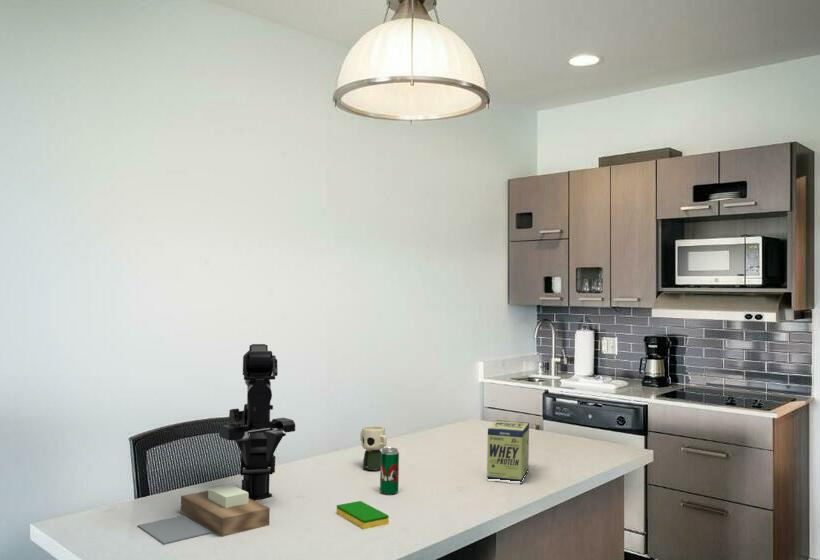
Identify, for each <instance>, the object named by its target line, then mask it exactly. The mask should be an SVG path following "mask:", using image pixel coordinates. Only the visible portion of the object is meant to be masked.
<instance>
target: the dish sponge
mask: <svg viewBox="0 0 820 560" xmlns="http://www.w3.org/2000/svg"><path fill="white" fill-rule="evenodd" d="M335 512H336V513H335V514H336V515H338V516H340V517H342V518H344V519H346V520H347V521H349V522H351V523H352V524H354V525H356V526H357V527H359V528H361V529H363V530H367V529H371V528H376V527H380V526H386V525H389V523H390V522H389V521H390V519H389V514H387V513H385V512H383V511H381V510H379V509H377V508H375V507H373V506H372V505H370V504H367V503H366V502H364V501H362V500H359V501H353V502H347V503H341V504H336V511H335Z"/></svg>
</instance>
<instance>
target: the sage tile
mask: <svg viewBox="0 0 820 560" xmlns="http://www.w3.org/2000/svg"><path fill="white" fill-rule="evenodd" d="M207 491H208V499H209V500H211V501H213V502H215V503H217V504H219V505H221V506H223V507H225V508H228V507H232V506H237V505H242V504H246V503H248V497H249V493H248V492H246V491H244V490H242V488H239V487H237V486H235V485H234V484H226V485H221V486H214V487H211V488H208V489H207Z"/></svg>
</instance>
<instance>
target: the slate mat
mask: <svg viewBox="0 0 820 560" xmlns="http://www.w3.org/2000/svg"><path fill="white" fill-rule="evenodd" d="M137 528H140V529H141V530H143V531H144V532H145V533H147V534H148V535H149V536H151V537H152V538H154V539H155V540H156V541H158V542H160V543H161V544H163V545H167V544H168V545H169V544H173V543H176V542H180V541H185V540H188V539H193V538H197V537H201V536H205V535H209V534H212V530H211V531H210V529H208V528H207V527H206V528H205V526H203V525H202V524H201V525H200V523H198V522H196V521H195V520H193V519H191V518H190V517H188V516H186V515H185V514H182V515H179V516H174V517H173V516H172V517H169V518H163V519H159V520H155V521H151V522H146V523H141V524H137Z"/></svg>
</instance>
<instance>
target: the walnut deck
mask: <svg viewBox="0 0 820 560" xmlns="http://www.w3.org/2000/svg"><path fill="white" fill-rule="evenodd" d="M270 509H271V508H270V506H266V505H264V504H262V503H260V502H258V501H256V500H252V499H250V498H248V503H246V504H242V505H237V506H232V507H228V508H225V507H223V506H221V505H219V504H217V503H215V502H213V501H211V500H209V499H208V490H205V491H200V492H195V493H194V492H193V493H189V494H185V495H181V496H180V513H182V515H184V516H186V517H188V518H189V519H191V520H193V521H194V522H196V523H198V524H199V525H200V524H201V526H203V527H206V529H208V530H211V532H214V533H216V534H217V535H219V536H222V537H225V536H230V535H234V534H238V533H242V532H243V533H244V532H246V531H250V530H255V529H258V528H259V529H260V528H262V527H267V526H270V514H271V513H270V512H271V511H270Z"/></svg>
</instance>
